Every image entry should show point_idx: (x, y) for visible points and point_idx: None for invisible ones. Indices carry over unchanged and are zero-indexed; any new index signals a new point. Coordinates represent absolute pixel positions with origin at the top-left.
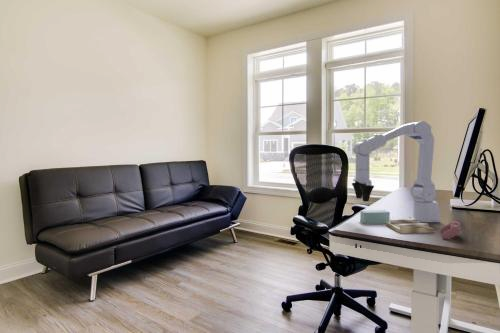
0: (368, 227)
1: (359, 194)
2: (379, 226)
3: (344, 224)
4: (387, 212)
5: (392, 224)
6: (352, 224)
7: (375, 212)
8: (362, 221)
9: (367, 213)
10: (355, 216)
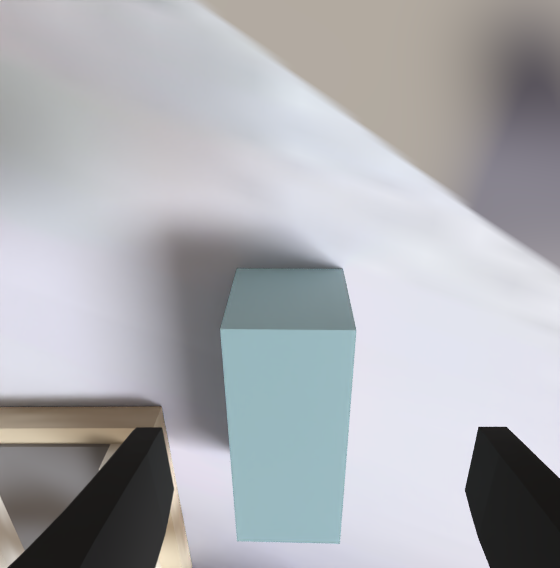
0: (88, 254)
1: (504, 536)
2: (136, 353)
3: (195, 30)
4: (236, 526)
5: (79, 440)
6: (198, 134)
7: (233, 438)
8: (285, 273)
9: (225, 357)
10: (554, 289)
